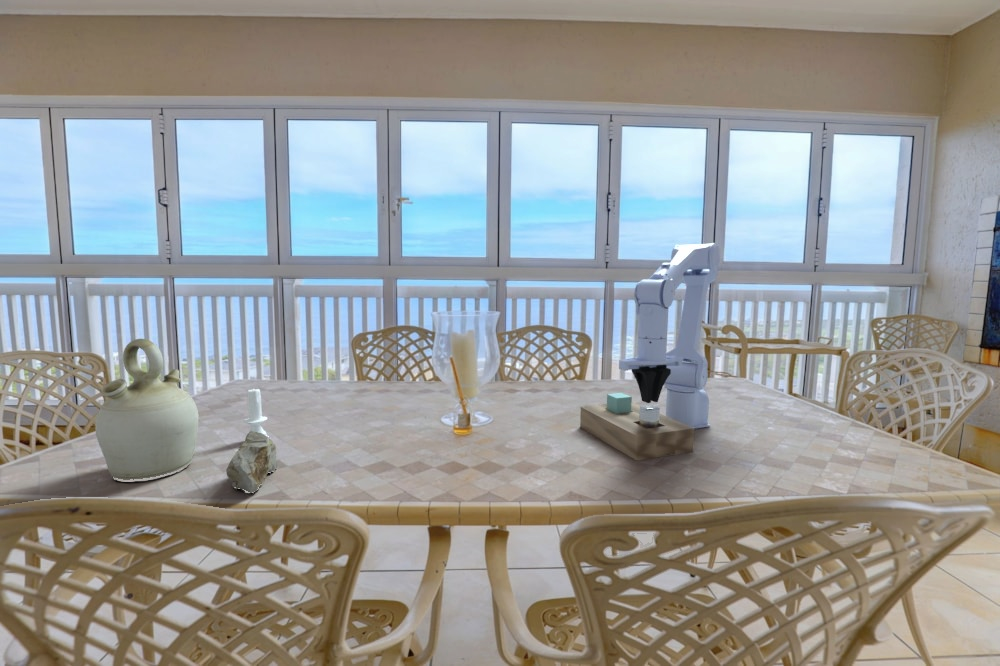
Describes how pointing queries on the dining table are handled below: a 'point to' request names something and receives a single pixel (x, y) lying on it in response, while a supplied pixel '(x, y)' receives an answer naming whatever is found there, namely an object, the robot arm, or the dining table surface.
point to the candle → (255, 412)
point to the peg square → (619, 403)
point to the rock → (252, 462)
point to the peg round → (649, 416)
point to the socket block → (637, 432)
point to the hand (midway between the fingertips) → (649, 401)
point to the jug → (146, 419)
